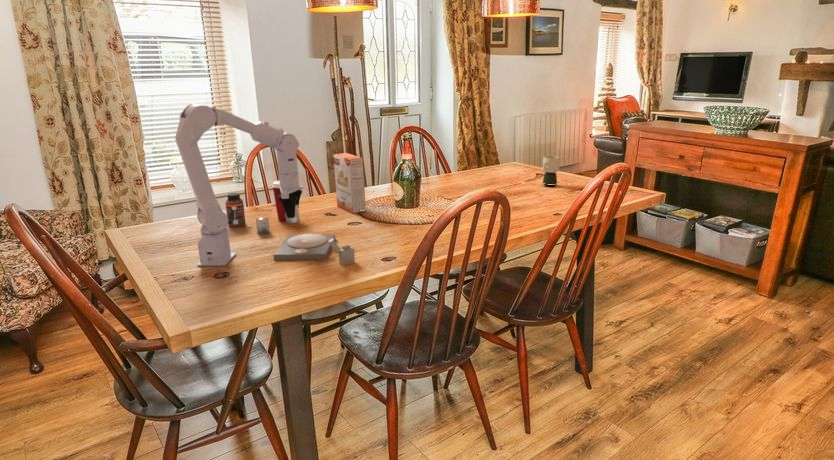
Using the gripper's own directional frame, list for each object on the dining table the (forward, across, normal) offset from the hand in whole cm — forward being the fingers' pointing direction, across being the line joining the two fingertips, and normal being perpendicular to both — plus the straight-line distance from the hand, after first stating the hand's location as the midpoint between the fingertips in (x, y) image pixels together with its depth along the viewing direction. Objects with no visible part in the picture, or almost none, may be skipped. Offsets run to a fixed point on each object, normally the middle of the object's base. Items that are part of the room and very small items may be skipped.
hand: (292, 215), depth 162 cm
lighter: (+9, -19, -18) cm, 28 cm away
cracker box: (+9, +39, -13) cm, 42 cm away
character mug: (+10, +72, -98) cm, 122 cm away
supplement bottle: (+9, +20, +25) cm, 34 cm away
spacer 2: (+2, 0, 0) cm, 2 cm away
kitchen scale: (+9, -6, -5) cm, 12 cm away
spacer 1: (+9, +11, +13) cm, 20 cm away
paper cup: (+9, +26, +9) cm, 29 cm away
